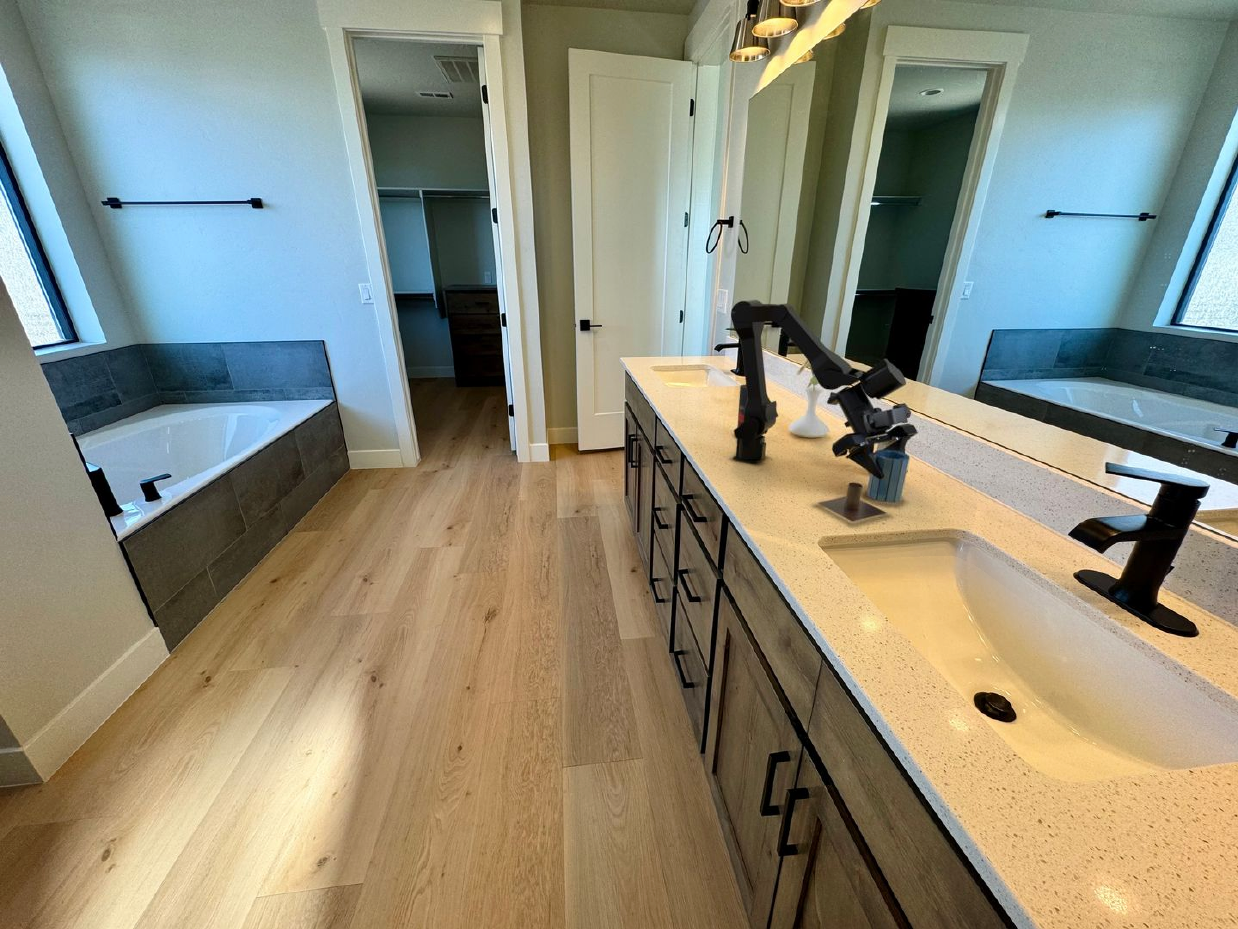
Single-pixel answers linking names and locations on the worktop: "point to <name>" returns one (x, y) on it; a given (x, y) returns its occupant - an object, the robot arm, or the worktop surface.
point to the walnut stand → (852, 505)
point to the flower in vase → (810, 412)
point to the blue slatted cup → (889, 476)
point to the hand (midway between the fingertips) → (893, 476)
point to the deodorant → (742, 404)
